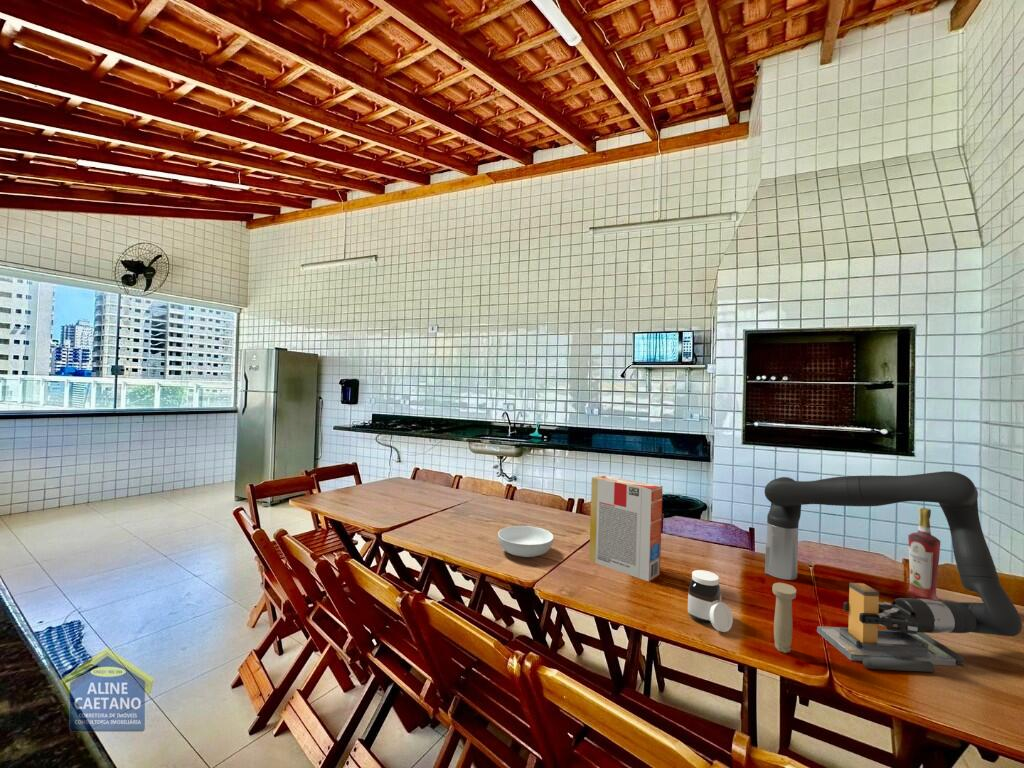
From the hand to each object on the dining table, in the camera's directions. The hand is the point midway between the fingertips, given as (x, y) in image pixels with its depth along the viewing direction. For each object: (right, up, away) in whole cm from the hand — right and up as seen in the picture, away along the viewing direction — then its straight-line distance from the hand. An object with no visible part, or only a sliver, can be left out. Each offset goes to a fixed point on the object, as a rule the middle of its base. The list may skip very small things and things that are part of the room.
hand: (852, 612), depth 109 cm
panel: (+7, -9, 0) cm, 11 cm away
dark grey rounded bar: (+21, -9, -1) cm, 23 cm away
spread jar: (-31, -8, +10) cm, 34 cm away
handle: (-19, -8, -2) cm, 21 cm away
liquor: (+43, -10, +27) cm, 52 cm away
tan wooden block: (+2, -7, 0) cm, 7 cm away
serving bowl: (-80, -6, +55) cm, 97 cm away
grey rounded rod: (+4, -9, -9) cm, 13 cm away
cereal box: (-46, -7, +44) cm, 64 cm away
